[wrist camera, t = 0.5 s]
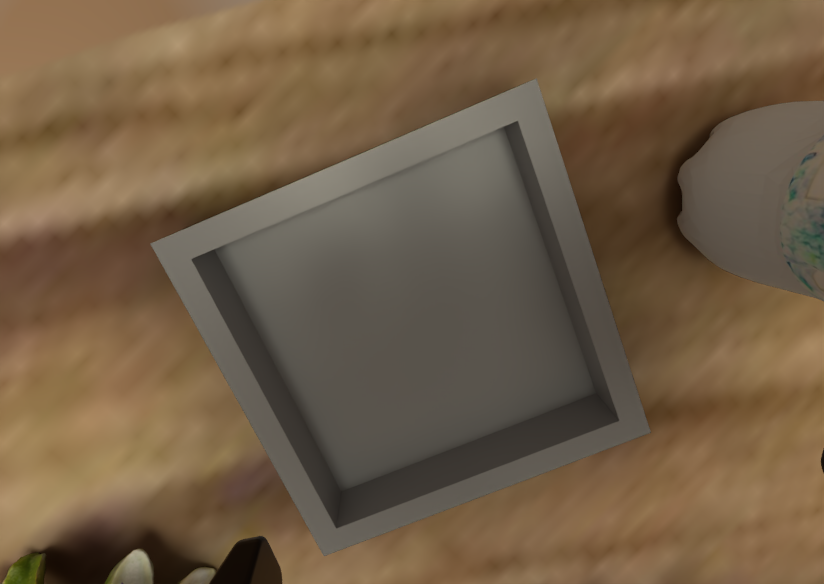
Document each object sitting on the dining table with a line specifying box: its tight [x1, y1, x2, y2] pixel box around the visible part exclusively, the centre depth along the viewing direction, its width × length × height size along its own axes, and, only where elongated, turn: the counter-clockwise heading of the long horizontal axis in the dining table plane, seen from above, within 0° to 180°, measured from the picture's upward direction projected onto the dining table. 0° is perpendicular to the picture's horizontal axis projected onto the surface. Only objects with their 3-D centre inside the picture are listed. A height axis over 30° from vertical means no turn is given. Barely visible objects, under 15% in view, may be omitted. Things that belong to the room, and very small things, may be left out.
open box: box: [151, 78, 651, 556], centre depth 21 cm, size 14×14×3 cm
